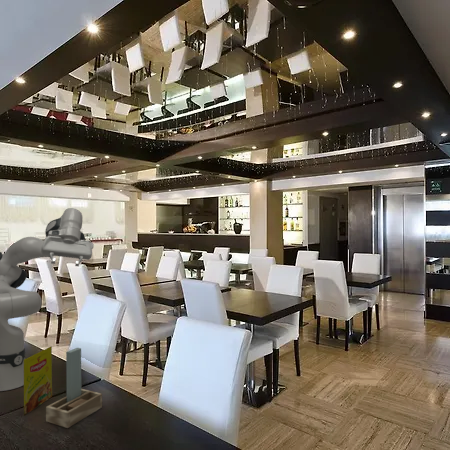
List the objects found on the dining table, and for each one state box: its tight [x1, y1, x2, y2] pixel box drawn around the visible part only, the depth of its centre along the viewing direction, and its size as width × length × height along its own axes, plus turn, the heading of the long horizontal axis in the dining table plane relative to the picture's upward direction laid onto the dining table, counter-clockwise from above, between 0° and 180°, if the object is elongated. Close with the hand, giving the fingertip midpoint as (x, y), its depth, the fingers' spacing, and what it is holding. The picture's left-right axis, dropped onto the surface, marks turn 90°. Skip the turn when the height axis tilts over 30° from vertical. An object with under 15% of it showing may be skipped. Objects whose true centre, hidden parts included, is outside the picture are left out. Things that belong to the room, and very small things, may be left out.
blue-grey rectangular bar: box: [65, 347, 82, 402], centre depth 139 cm, size 2×5×22 cm, turn 155°
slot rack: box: [45, 388, 103, 429], centre depth 136 cm, size 10×16×5 cm, turn 155°
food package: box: [23, 346, 53, 416], centre depth 143 cm, size 15×1×20 cm, turn 168°
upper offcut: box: [68, 399, 87, 411], centre depth 134 cm, size 3×6×2 cm, turn 154°
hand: (65, 264), depth 159 cm, fingers open, 8 cm apart
